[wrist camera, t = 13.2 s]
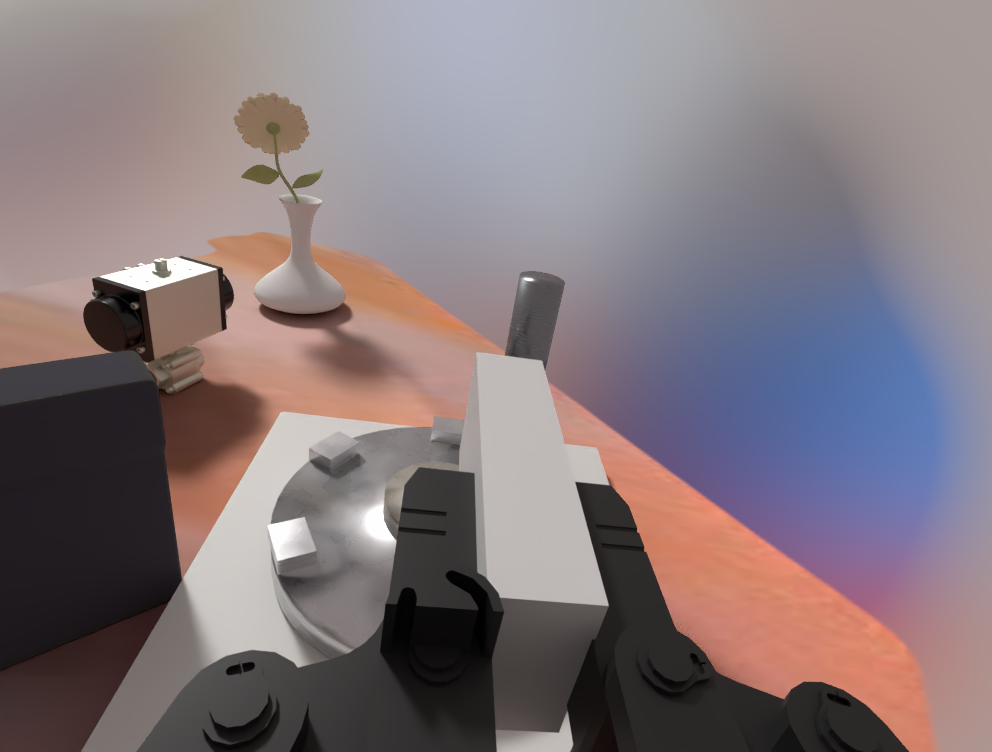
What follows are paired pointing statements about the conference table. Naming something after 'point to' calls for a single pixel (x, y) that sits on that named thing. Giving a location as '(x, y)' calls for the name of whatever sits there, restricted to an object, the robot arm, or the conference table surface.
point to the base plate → (255, 594)
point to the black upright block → (81, 501)
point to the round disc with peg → (372, 502)
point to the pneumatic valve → (161, 315)
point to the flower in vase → (288, 209)
